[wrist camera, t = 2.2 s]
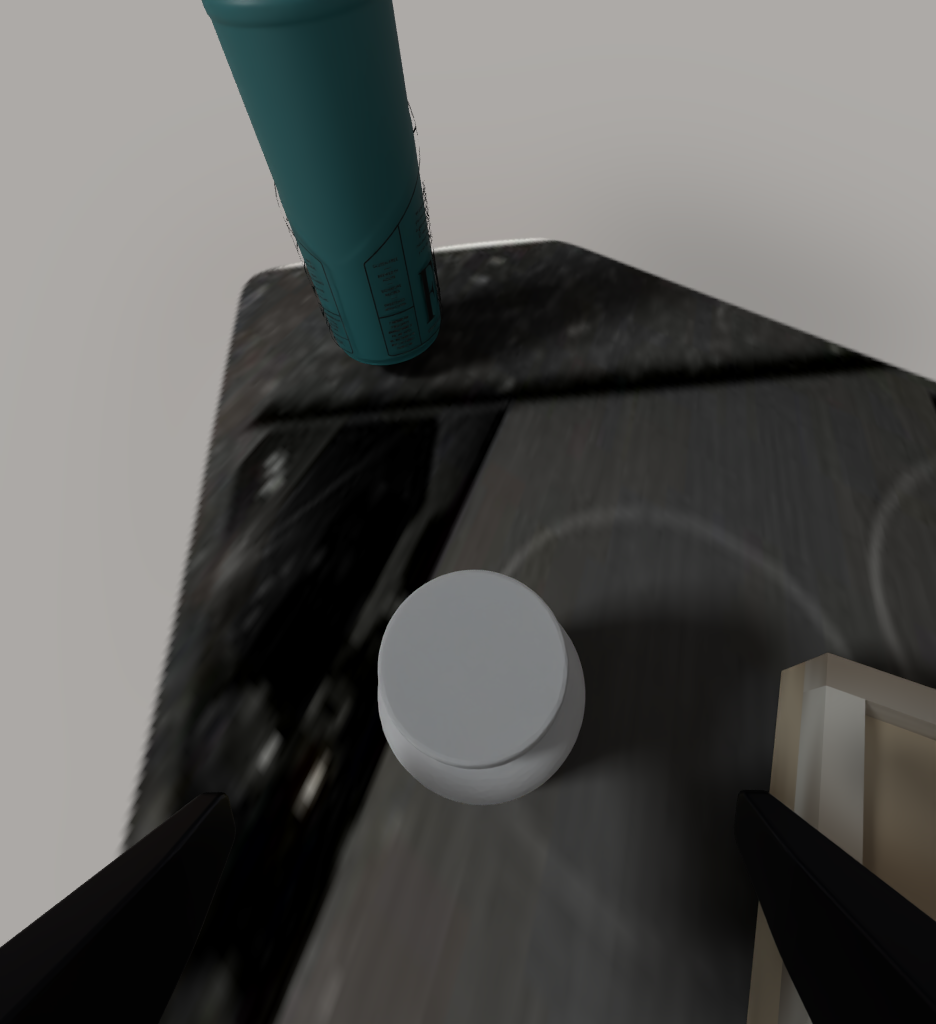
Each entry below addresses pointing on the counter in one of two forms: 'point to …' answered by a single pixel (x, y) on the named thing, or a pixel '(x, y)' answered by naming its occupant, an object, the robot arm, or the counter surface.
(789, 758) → the shallow square tray
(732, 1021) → the counter surface
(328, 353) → the counter surface
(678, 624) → the counter surface
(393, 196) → the beverage bottle
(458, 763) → the supplement bottle
